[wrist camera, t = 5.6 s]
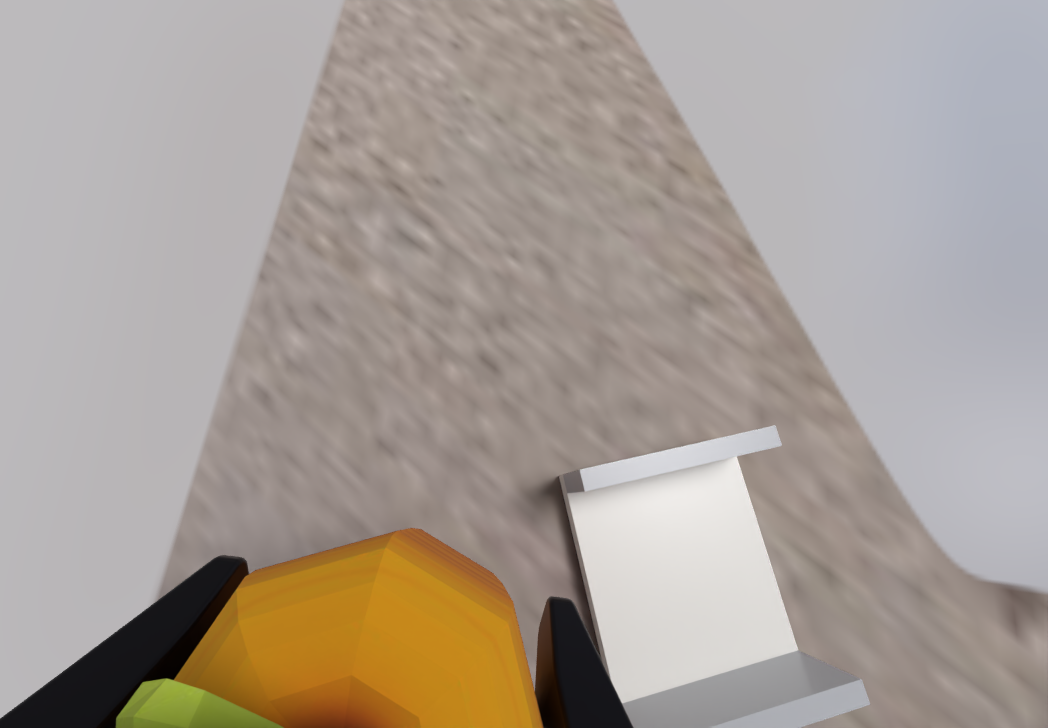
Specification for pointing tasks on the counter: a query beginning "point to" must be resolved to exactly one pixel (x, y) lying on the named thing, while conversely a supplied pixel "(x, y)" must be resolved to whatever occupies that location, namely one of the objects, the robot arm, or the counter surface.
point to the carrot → (355, 647)
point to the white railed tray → (693, 594)
